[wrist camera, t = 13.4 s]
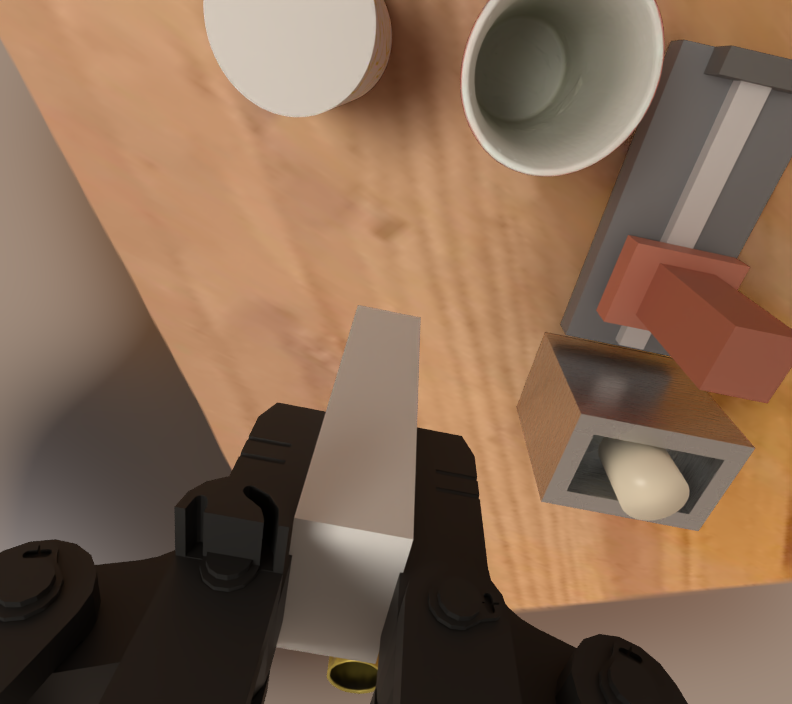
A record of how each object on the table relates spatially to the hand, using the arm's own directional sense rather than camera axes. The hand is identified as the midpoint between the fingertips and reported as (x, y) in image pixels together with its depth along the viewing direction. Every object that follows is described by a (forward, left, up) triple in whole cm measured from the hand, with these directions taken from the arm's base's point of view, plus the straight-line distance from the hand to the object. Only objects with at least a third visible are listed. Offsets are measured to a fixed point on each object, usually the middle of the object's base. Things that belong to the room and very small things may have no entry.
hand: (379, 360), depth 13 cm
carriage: (+4, +20, -26) cm, 33 cm away
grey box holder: (+15, +20, -29) cm, 39 cm away
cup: (-7, -7, -30) cm, 31 cm away
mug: (-9, +5, -30) cm, 31 cm away
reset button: (+15, +20, -20) cm, 32 cm away
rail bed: (0, +20, -29) cm, 36 cm away
